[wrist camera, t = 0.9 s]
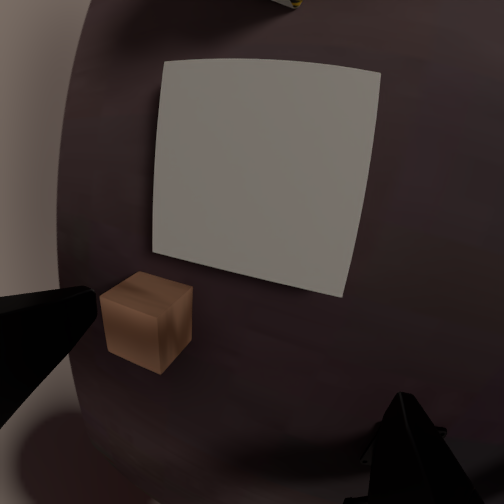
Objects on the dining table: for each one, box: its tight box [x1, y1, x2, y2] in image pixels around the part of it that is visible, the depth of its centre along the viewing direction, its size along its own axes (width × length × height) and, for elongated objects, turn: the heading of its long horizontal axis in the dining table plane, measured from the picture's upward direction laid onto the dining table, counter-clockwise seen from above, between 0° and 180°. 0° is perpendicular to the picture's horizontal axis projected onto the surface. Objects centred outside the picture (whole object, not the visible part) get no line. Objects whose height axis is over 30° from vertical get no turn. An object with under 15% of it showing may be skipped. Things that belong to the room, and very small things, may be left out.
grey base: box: [153, 59, 381, 297], centre depth 18 cm, size 12×12×3 cm
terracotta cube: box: [100, 271, 193, 375], centre depth 23 cm, size 5×5×5 cm
